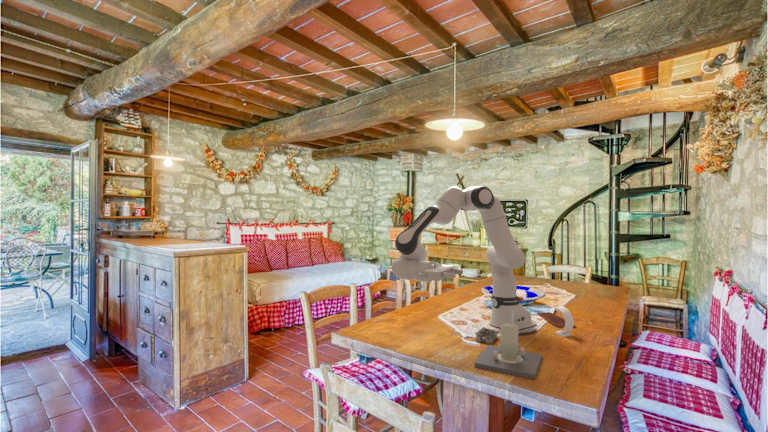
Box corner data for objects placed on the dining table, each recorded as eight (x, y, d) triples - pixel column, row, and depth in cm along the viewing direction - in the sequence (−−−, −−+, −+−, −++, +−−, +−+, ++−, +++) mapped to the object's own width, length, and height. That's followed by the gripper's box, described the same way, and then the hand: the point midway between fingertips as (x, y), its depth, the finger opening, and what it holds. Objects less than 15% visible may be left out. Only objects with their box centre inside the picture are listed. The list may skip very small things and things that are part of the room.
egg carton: (490, 345, 151) (490, 335, 151) (473, 341, 156) (473, 331, 156) (499, 337, 160) (499, 328, 159) (483, 334, 164) (483, 325, 164)
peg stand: (488, 348, 146) (488, 337, 146) (542, 358, 136) (542, 346, 136) (474, 366, 129) (474, 354, 129) (534, 379, 119) (535, 365, 119)
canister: (510, 353, 137) (510, 321, 137) (521, 359, 131) (521, 326, 131) (497, 355, 135) (497, 323, 135) (507, 362, 129) (507, 328, 129)
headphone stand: (561, 332, 166) (562, 306, 166) (573, 336, 161) (573, 309, 161) (554, 333, 164) (554, 307, 164) (566, 337, 159) (566, 310, 159)
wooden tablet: (577, 329, 172) (577, 325, 172) (556, 329, 173) (556, 325, 173) (553, 313, 199) (553, 310, 199) (534, 313, 199) (534, 310, 199)
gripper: (416, 267, 145) (449, 269, 138) (436, 261, 163) (466, 263, 156) (416, 282, 145) (449, 286, 138) (436, 275, 163) (466, 277, 156)
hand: (458, 273), depth 147 cm, fingers open, 8 cm apart
